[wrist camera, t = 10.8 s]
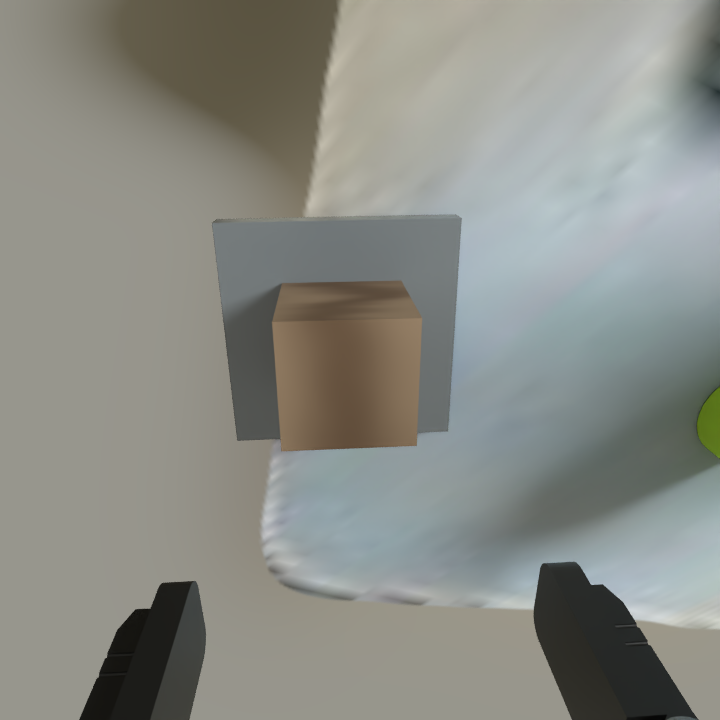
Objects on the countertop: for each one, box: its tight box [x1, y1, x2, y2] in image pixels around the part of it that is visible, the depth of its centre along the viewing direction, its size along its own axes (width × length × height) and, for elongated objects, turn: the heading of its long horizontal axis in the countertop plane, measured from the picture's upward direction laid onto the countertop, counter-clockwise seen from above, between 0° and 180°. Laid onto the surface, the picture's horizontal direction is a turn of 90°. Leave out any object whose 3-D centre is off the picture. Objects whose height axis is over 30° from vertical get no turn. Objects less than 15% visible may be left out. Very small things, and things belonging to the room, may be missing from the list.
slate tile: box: [212, 215, 462, 441], centre depth 28 cm, size 12×12×1 cm
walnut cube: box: [272, 281, 422, 451], centre depth 25 cm, size 6×6×6 cm
